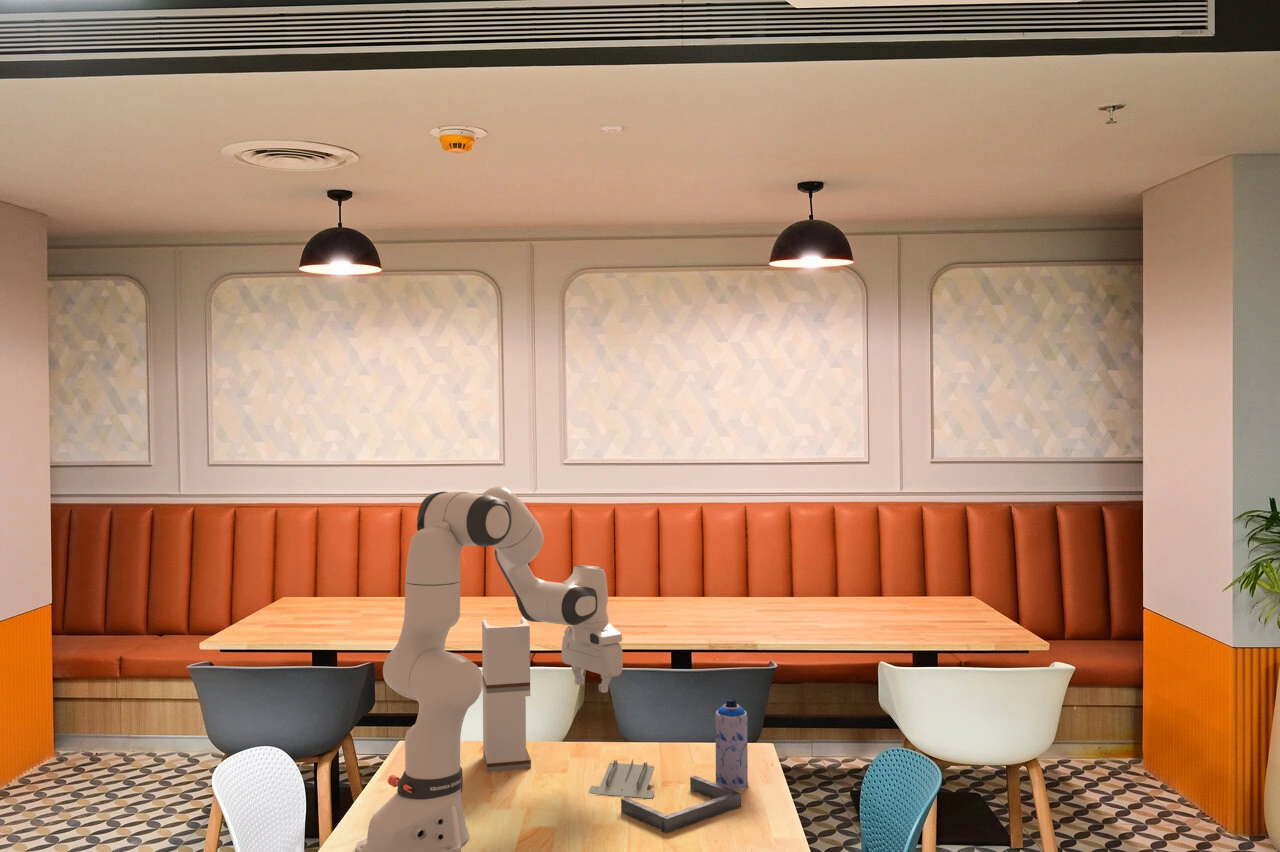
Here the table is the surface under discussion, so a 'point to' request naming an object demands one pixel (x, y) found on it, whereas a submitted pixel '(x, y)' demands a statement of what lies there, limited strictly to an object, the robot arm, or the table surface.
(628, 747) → the table surface
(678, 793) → the table surface
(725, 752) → the aerosol can
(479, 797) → the table surface
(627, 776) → the metal bracket
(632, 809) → the steel u-shaped frame
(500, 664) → the banded square pillar
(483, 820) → the table surface
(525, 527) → the robot arm
